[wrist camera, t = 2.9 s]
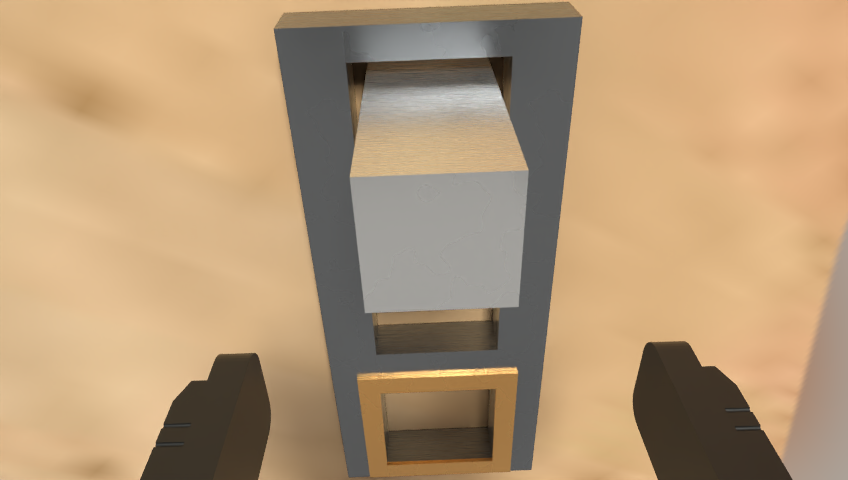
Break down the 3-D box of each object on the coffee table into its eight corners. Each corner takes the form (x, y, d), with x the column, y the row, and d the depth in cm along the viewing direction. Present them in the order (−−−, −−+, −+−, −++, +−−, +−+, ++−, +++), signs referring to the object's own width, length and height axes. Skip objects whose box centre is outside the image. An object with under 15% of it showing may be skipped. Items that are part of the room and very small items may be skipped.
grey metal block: (368, 60, 22) (349, 177, 15) (487, 55, 22) (528, 170, 15) (377, 167, 25) (364, 312, 17) (484, 163, 25) (518, 307, 17)
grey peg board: (283, 12, 21) (272, 30, 19) (568, 1, 21) (584, 18, 19) (351, 446, 35) (348, 480, 33) (525, 439, 35) (531, 472, 33)
